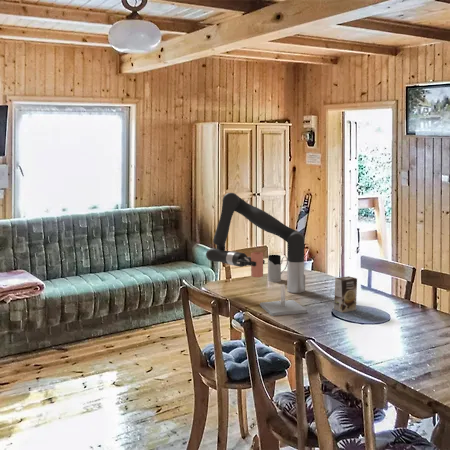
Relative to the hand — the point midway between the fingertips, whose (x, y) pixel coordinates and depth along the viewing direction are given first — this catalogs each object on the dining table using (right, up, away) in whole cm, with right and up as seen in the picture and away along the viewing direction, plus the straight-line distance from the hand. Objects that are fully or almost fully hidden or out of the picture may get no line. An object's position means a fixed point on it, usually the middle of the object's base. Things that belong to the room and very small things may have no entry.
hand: (259, 263), depth 282 cm
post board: (+11, -22, -10) cm, 27 cm away
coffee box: (+41, -22, -12) cm, 49 cm away
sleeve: (-1, -7, +2) cm, 7 cm away
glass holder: (+14, -14, +50) cm, 54 cm away
